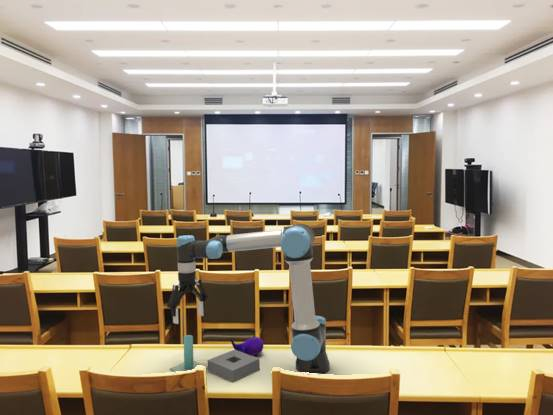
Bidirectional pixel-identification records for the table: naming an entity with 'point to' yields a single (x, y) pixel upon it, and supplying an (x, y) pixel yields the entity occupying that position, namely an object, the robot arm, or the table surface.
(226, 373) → the socket
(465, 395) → the table surface
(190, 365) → the plug
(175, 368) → the mat
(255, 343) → the toy
